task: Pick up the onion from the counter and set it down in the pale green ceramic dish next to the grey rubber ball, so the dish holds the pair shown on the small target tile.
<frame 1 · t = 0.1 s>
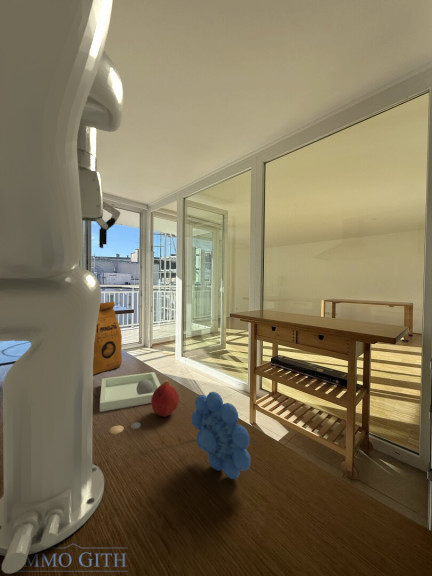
hand: (76, 245, 53), 37 cm above the counter, tool pointing down, fingers open, 9 cm apart
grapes: (214, 473, 38), on the counter
onion: (164, 417, 53), on the counter
coffee package: (99, 370, 79), on the counter
ball: (144, 395, 61), point 1 cm above the counter, touching dish
target tile: (126, 430, 48), on the counter
dish: (131, 394, 62), on the counter
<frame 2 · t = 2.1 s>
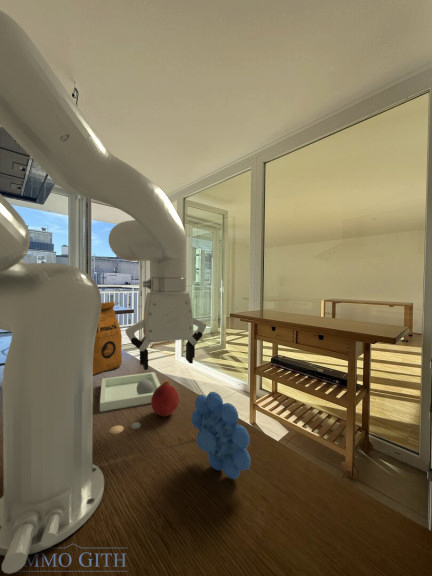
hand: (168, 364, 53), 11 cm above the counter, tool pointing down, fingers open, 9 cm apart
nothing on the counter moved.
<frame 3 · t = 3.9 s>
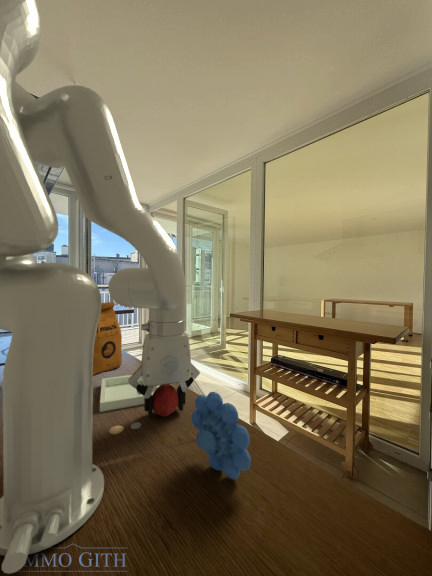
hand: (165, 409, 53), 2 cm above the counter, tool pointing down, fingers closed on onion, 5 cm apart
onion: (164, 417, 53), on the counter, touching gripper
everything else where it was.
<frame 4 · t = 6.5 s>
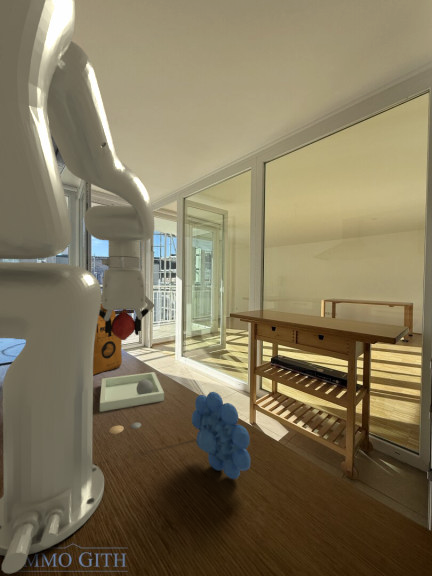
hand: (123, 334, 63), 15 cm above the counter, tool pointing down, fingers closed on onion, 5 cm apart
onion: (123, 340, 63), point 14 cm above the counter, touching gripper
everything else where it was.
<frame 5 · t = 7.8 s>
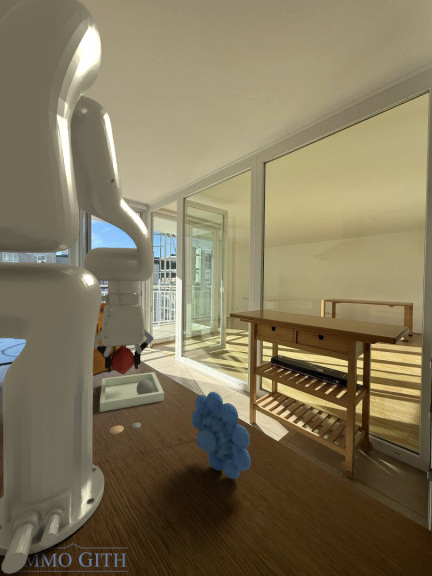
hand: (122, 368, 64), 6 cm above the counter, tool pointing down, fingers closed on onion, 5 cm apart
onion: (122, 374, 64), point 5 cm above the counter, touching gripper
everything else where it was.
when the fingers open (4 cm above the counter, at t = 9.1 s): onion drops 2 cm, resting on dish.
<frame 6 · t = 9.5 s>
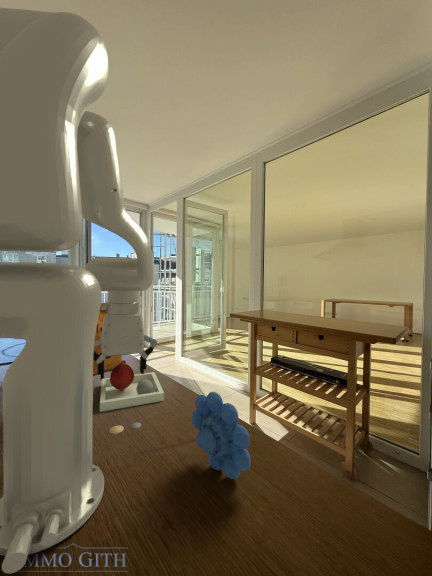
hand: (122, 374, 63), 5 cm above the counter, tool pointing down, fingers open, 9 cm apart
onion: (121, 391, 63), resting on dish
everything else where it was.
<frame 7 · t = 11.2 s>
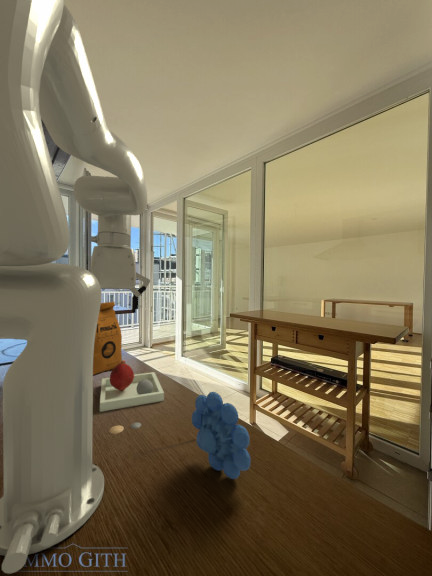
hand: (113, 312, 60), 21 cm above the counter, tool pointing down, fingers open, 9 cm apart
nothing on the counter moved.
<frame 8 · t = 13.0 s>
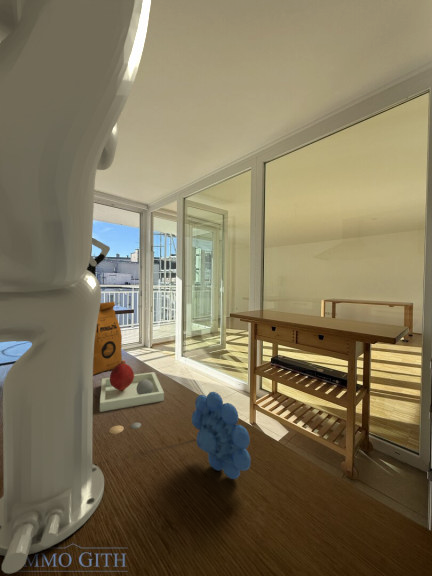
hand: (63, 284, 50), 28 cm above the counter, tool pointing down, fingers open, 9 cm apart
nothing on the counter moved.
at the end: onion inside the target area on the dish (2.8 cm from its centre), point 0.4 cm above the dish's base; ball inside the target area on the dish (4.2 cm from its centre), point 0.6 cm above the dish's base; the gripper is holding nothing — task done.
